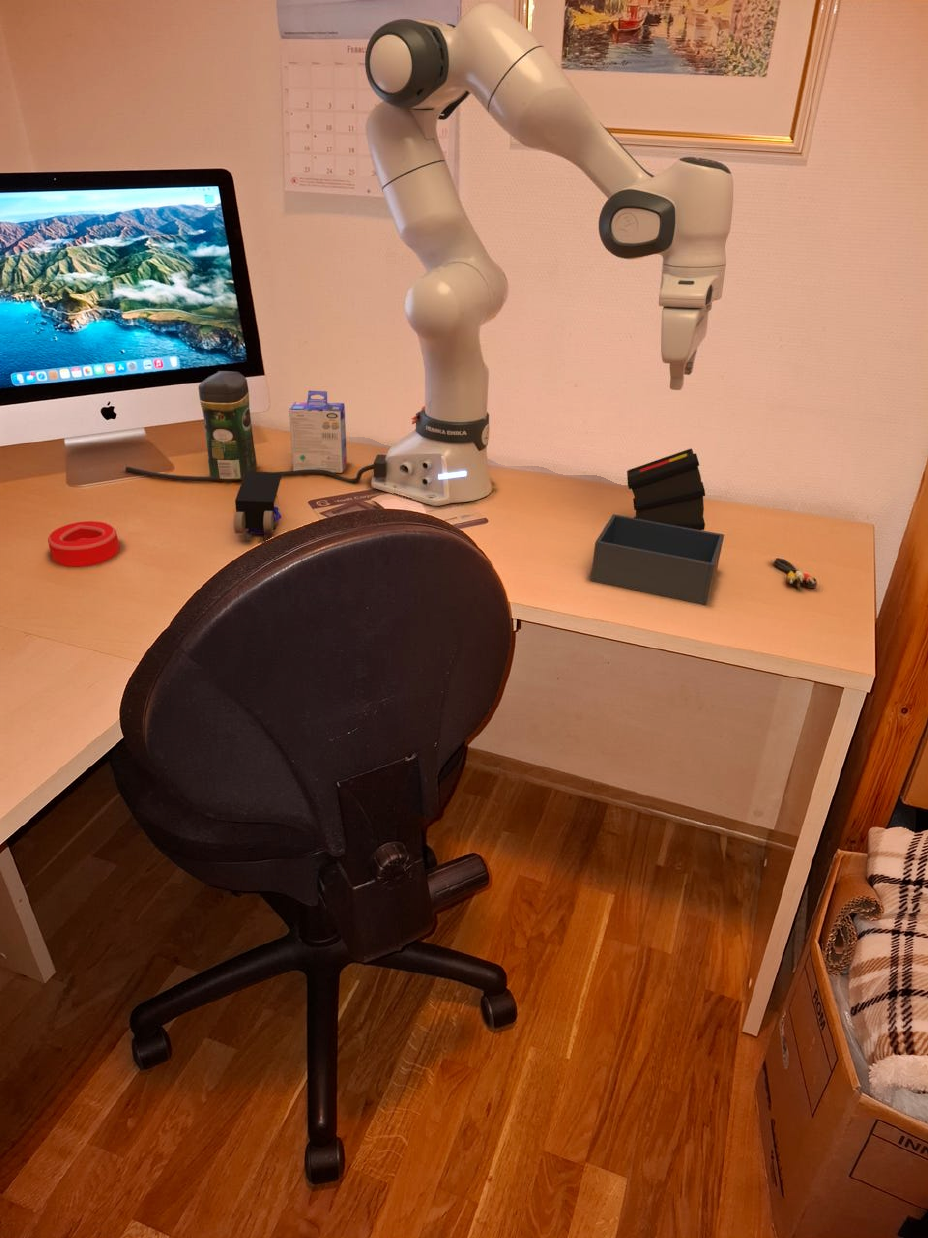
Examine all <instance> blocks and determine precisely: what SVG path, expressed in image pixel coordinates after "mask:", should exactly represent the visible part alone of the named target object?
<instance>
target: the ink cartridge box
mask: <svg viewBox="0 0 928 1238" xmlns="http://www.w3.org/2000/svg"><path fill="white" fill-rule="evenodd" d="M317 395H318V396H321V397H323V399H322V398H321V399H320V398H319V399H318V398H311V397H313V396H317ZM345 407H346V406H345V402H328V391H327V390H325V391H324V390H308V391H307V401H306V402H305V401H304V402H300V401H299V402H298V401H297V402H296V401H294V402H293V404H292V405H291V407H290V408H289V409H288V417H289V429H290V430H289V431H290V445H291V446H290V447H291V458H292V471H295V470H308V469H318V470H326V471H330V472H333V473H335V474H337V473H338V474H343V473H344V470H345V469H346V467H347V466H348V455H347V454H348V453H347V452H348V450H347V430H346V426H347V425H346V408H345Z"/></svg>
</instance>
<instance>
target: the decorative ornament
mask: <svg viewBox="0 0 928 1238" xmlns="http://www.w3.org/2000/svg"><path fill="white" fill-rule="evenodd" d="M47 542H48V546H49V551H50V555H51V559H52V560H53V561H54V562H55V563H56V564H58V565H61V566H65V567H87V566H93V565H97V564H101V563H104V562H107V561H109V560H110V559H112V558H114V557H115V556H116V555H117V554H119V552H120V544H119V539H118V533H117V530H116V528H115V527H114V526H113V525H111V524H110V523H106V522H103V521H92V520H90V521H89V520H87V521H85V520H84V521H77V522H73V523H69V524H65V525H62V526H59V527H58V528H56V529H54V530H53V531H52V532H51V533H50V534H49V536H48V537H47Z"/></svg>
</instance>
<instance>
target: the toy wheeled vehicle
mask: <svg viewBox="0 0 928 1238" xmlns="http://www.w3.org/2000/svg"><path fill="white" fill-rule="evenodd" d="M277 472H278V471H254V472H253V471H246V472H245V475H244V477H243V480H241V483H240V485H239V489H238V491H237V494H236V497H235V499H234V503H235V504H234V505H235V512H234V516H233V517H234V518H233V529H234V533H235V534H239V535H241V534H242V535H243V534H245V532H246V534H245V538H244V539H245V541H246V542H251V539H252V534H259V535H260V534H264V535H263V539H262V541H263V542H267V541H268V540H269V536H270V534H273V533H274V531H275V530H276V523H277V522H278V521H279V520H280V519H281V518H282V515H281V514H280V509H279V504H280V501H279V496H278V495H277V494H278V491H279V487H280V483H281V481H282V477H283V476H282V473H277ZM245 530H246V531H245ZM267 539H268V540H267ZM266 540H267V541H266Z"/></svg>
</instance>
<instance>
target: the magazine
mask: <svg viewBox="0 0 928 1238" xmlns="http://www.w3.org/2000/svg"><path fill="white" fill-rule="evenodd" d="M699 466H700V462H699V458H698V456H697V453H694V450H693V448H688V449H684V450H682V451H679V452H676V453H674V454H671V455H668V456H665V457H661V458H659V459H656V460H654V461H650V462H648V463H644V464H642V465H639V466H637V467H633V468H630V469H628V470H626V479H627V487H628V490H631V491H632V494H633V498H632V500H633V510H634V511H635V516H632V518H637V519H642V520H648V521H653V522H659V523H664V524H670V525H675V526H681V527H686V528H691V529H697V530H702V531H705V529H706V523H705V519H704V511H705V508H704V507H705V506H704V497H705V496H706V490H705V487H704V483H703V481H702V477H701V473H700V469H699Z"/></svg>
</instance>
